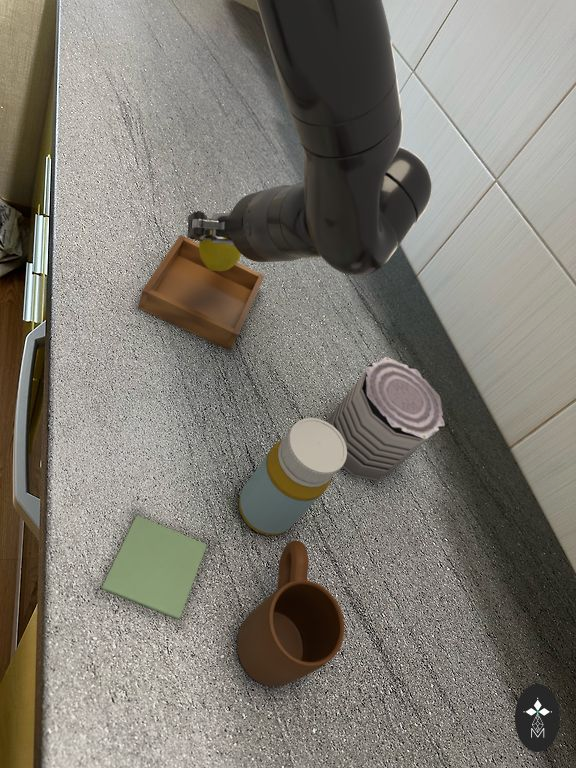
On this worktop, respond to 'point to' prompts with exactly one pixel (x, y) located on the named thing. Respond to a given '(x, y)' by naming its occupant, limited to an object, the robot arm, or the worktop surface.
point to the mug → (291, 625)
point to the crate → (200, 294)
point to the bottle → (292, 476)
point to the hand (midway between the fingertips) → (218, 234)
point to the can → (386, 418)
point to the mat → (155, 567)
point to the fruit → (218, 255)
